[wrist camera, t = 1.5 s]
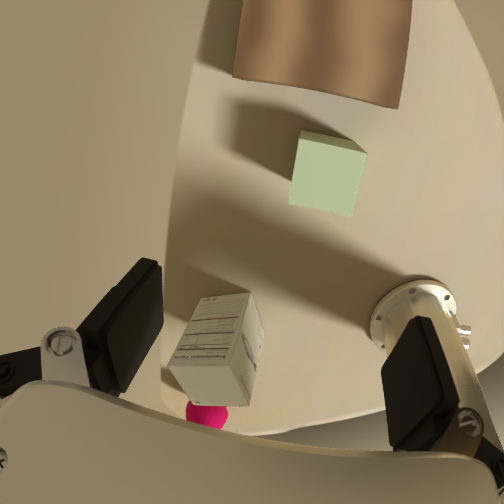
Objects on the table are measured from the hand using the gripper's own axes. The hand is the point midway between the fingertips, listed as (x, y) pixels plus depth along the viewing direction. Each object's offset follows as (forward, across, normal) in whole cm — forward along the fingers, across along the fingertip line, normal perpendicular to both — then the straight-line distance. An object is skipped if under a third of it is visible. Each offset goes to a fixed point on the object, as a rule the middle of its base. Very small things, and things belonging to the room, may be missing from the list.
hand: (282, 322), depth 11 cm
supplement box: (+23, +5, +20) cm, 31 cm away
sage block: (+23, -2, -2) cm, 23 cm away
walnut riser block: (+23, 0, -16) cm, 27 cm away
